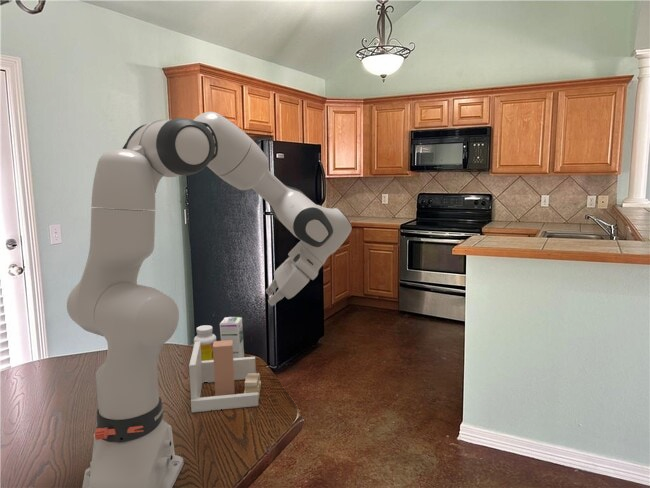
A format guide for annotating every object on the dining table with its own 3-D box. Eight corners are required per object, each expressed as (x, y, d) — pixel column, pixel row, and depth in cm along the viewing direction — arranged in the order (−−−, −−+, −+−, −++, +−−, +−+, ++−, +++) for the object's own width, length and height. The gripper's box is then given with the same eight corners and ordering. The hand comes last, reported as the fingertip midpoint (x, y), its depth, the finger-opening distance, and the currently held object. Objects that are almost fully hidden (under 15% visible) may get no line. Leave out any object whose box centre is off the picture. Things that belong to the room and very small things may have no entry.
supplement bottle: (214, 372, 139) (212, 331, 137) (192, 372, 139) (190, 331, 137) (220, 363, 145) (218, 323, 143) (198, 363, 145) (196, 324, 143)
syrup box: (241, 368, 142) (239, 322, 139) (221, 368, 142) (219, 322, 139) (244, 360, 147) (242, 316, 145) (226, 360, 147) (223, 316, 145)
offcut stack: (259, 399, 123) (258, 383, 122) (243, 400, 123) (242, 384, 122) (260, 385, 131) (260, 370, 130) (245, 386, 131) (245, 371, 130)
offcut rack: (258, 405, 119) (256, 361, 117) (191, 412, 117) (188, 367, 115) (255, 375, 136) (254, 336, 134) (197, 381, 134) (195, 341, 132)
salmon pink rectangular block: (234, 395, 125) (232, 345, 123) (215, 396, 124) (212, 347, 122) (234, 388, 129) (232, 340, 127) (216, 389, 128) (213, 341, 126)
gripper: (291, 246, 134) (258, 281, 134) (300, 260, 114) (261, 302, 114) (306, 260, 135) (274, 295, 135) (318, 277, 116) (280, 318, 116)
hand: (268, 298), depth 125 cm, fingers open, 8 cm apart
